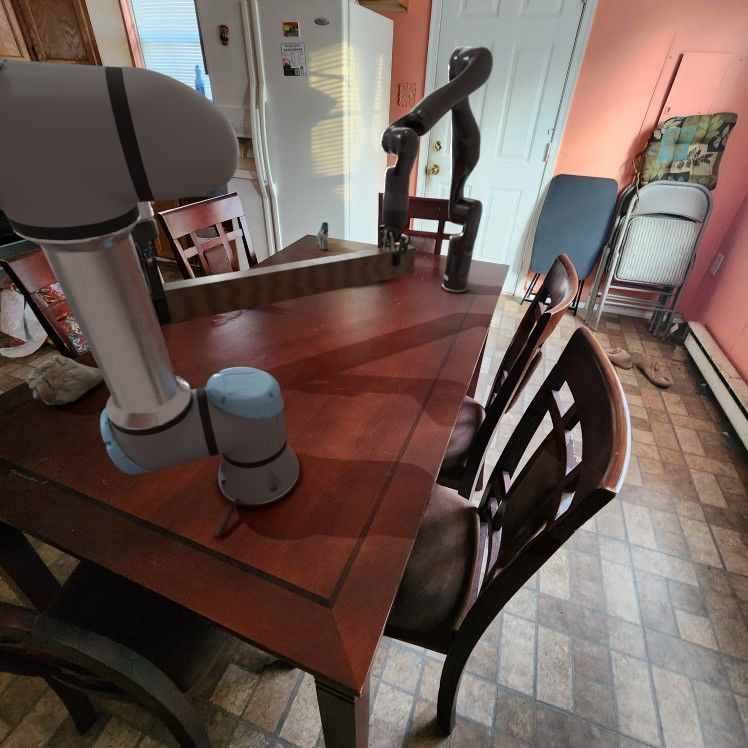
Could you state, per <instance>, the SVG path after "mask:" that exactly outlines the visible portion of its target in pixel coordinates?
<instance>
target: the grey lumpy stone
mask: <svg viewBox="0 0 748 748" xmlns="http://www.w3.org/2000/svg"><path fill="white" fill-rule="evenodd" d="M26 379H27V380H26V381H25V382H26V384H28V387H29V389H31V390H32V398H33V399H34V400H42V401H43V402H44V403H45V404H46V405H48V406H56V405H57V406H61V405H66V404H67V403H71V402H75V401H77V400H78V399H80V397H82V396H83V394H85V393H87V392H88V391H91V390H92V389H94V388H95V387H96V386H98V385H99V384H100V383H101V382H102V380H104V378H103V376H102V374H101V372H100V370H99V368H97V367H92V366H88V365H85V364H82V363H79V362H77V361H76V360H74V359H72V358H69V357H65V356H63V355H56V354H55V355H53V356H52V359H49V360H47V361H44V362H43V361H42V362H38V363H37V366H36V367H35V368H34V369H33V371H31V372H30V373H29V374H28V377H27V378H26Z"/></svg>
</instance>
